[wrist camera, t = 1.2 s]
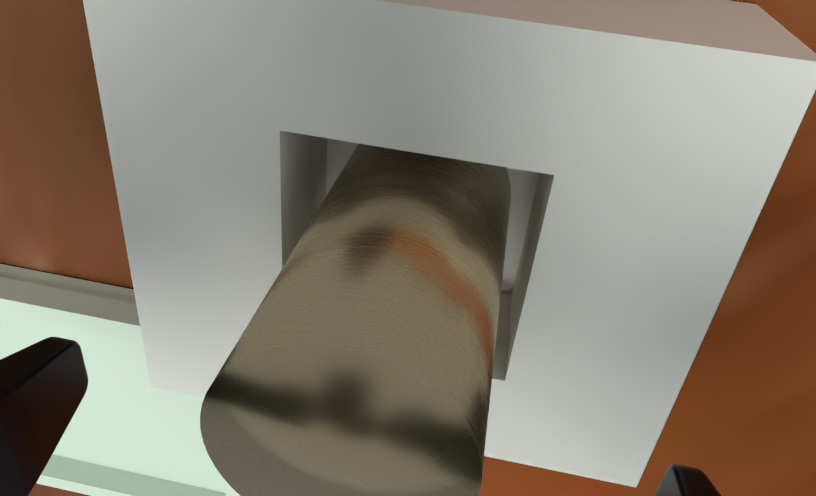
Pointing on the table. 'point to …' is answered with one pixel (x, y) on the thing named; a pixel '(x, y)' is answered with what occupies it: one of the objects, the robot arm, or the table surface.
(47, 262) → the table surface
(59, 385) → the robot arm
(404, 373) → the plug
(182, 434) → the tray
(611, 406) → the white block with recess
